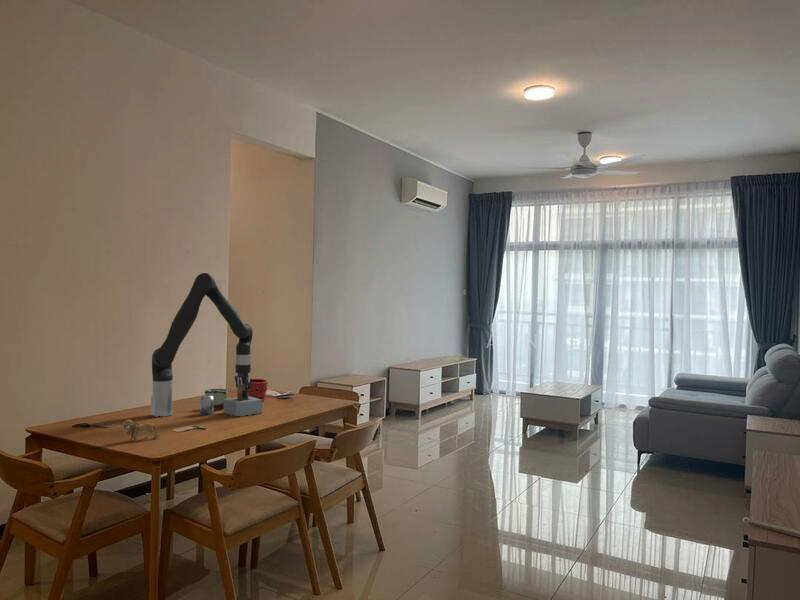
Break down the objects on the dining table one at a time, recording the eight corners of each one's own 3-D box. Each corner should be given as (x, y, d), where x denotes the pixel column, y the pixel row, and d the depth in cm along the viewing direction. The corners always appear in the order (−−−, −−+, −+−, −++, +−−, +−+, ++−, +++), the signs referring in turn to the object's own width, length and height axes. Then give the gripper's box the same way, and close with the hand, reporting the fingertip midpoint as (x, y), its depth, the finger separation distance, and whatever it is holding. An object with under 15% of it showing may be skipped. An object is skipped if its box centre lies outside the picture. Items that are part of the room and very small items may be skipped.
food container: (231, 407, 319) (231, 388, 319) (226, 409, 313) (227, 390, 313) (209, 406, 320) (209, 388, 320) (204, 409, 314) (204, 389, 314)
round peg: (203, 416, 297) (203, 397, 296) (197, 413, 301) (197, 396, 301) (215, 414, 301) (216, 396, 301) (210, 412, 306) (210, 394, 306)
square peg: (241, 402, 302) (241, 384, 302) (237, 401, 305) (237, 383, 305) (248, 401, 304) (248, 383, 304) (244, 400, 307) (244, 382, 307)
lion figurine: (124, 444, 241) (124, 421, 241) (120, 441, 245) (120, 419, 244) (161, 438, 250) (161, 416, 250) (157, 436, 254) (157, 414, 254)
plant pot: (240, 403, 331) (241, 381, 331) (246, 399, 344) (246, 378, 344) (264, 403, 332) (265, 382, 331) (269, 399, 345) (269, 378, 345)
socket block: (236, 417, 295) (236, 402, 295) (223, 412, 305) (223, 398, 305) (261, 413, 304) (262, 399, 304) (248, 409, 314) (248, 396, 314)
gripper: (229, 362, 307) (229, 396, 307) (242, 365, 296) (242, 399, 297) (243, 361, 312) (243, 394, 312) (256, 364, 301) (256, 398, 302)
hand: (242, 397), depth 304 cm, fingers closed on square peg, 4 cm apart
